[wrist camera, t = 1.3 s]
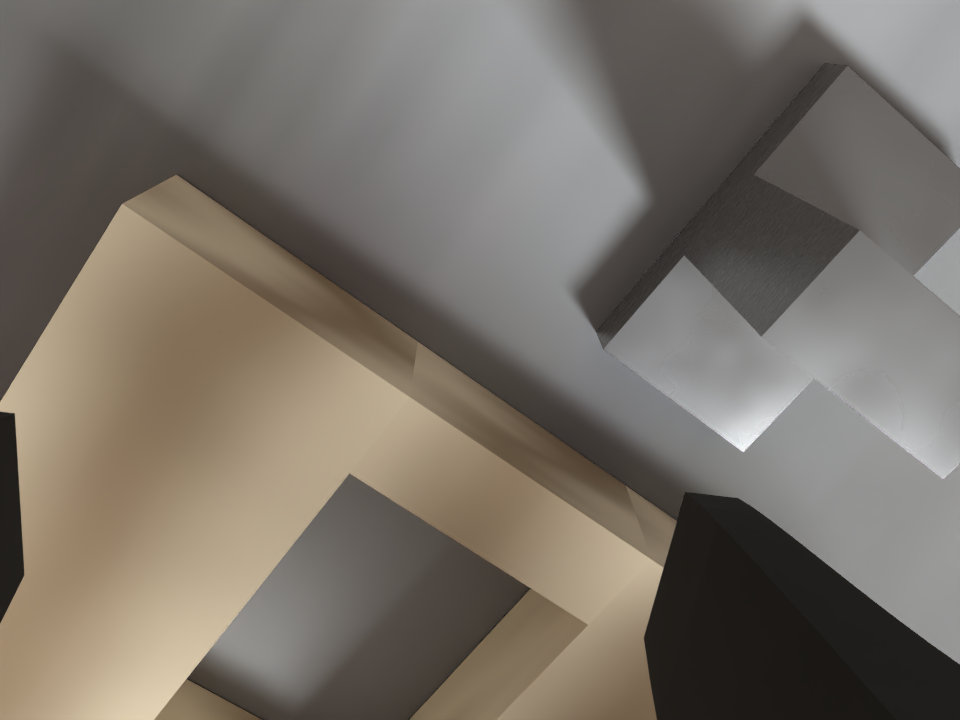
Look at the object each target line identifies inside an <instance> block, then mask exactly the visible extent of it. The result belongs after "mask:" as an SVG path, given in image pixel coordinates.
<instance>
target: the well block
mask: <svg viewBox="0 0 960 720" xmlns="http://www.w3.org/2000/svg"><path fill="white" fill-rule="evenodd" d="M0 412H8V413H15V424H16V440H17V457H18V474H19V491H20V507H21V524H22V541H23V557H24V574H25V575H24V577H23V579H22V581H21V583H20V585H19V587H18V589H17V591H16V593H15V595H14V597H13V599H12V601H11V603H10V605H9V607H8V609H7V611H6V613H5V615H4V617H3V619H2V621H1V623H0V720H261V719H260V718H258V717H256V716H254V715H252V714H250V713H248V712H247V711H245V710H243V709H241V708H239V707H237V706H235V705H234V704H232V703H230V702H228V701H226V700H224V699H222V698H221V697H219V696H217V695H215V694H213V693H211V692H210V691H208V690H206V689H204V688H202V687H200V686H198V685H197V684H195V683H193V682H191V681H189V680H187V678H188V676H189V675H190V674H191V673H192V671H193V670H194V669H195V667H196V666H197V665H198V664H199V662H200V661H201V660H202V659H203V657H204V656H205V655H206V654H207V652H208V651H209V650H210V649H211V647H212V646H213V645H214V644H215V642H216V641H217V640H218V639H219V637H220V636H221V635H222V633H223V632H224V631H225V630H226V628H227V627H228V626H229V625H230V623H231V622H232V621H233V620H234V618H235V617H236V616H237V615H238V613H239V612H240V611H241V610H242V608H243V607H244V606H245V604H246V603H247V602H248V601H249V599H250V598H251V597H252V596H253V594H254V593H255V592H256V591H257V589H258V588H259V587H260V586H261V584H262V583H263V582H264V581H265V579H266V578H267V577H268V575H269V574H270V573H271V572H272V570H273V569H274V568H275V567H276V565H277V564H278V563H279V562H280V560H281V559H282V558H283V557H284V555H285V554H286V553H287V552H288V550H289V549H290V548H291V547H292V545H293V544H294V543H295V541H296V540H297V539H298V538H299V536H300V535H301V534H302V533H303V531H304V530H305V529H306V528H307V526H308V525H309V524H310V523H311V521H312V520H313V519H314V518H315V516H316V515H317V514H318V512H319V511H320V510H321V509H322V507H323V506H324V505H325V504H326V502H327V501H328V500H329V499H330V497H331V496H332V495H333V494H334V492H335V491H336V490H337V489H338V487H339V486H340V485H341V483H342V482H343V481H344V480H345V478H346V477H347V476H348V475H349V473H350V474H351V475H353V476H354V477H356V478H358V479H359V480H361V481H362V482H364V483H365V484H367V485H369V486H370V487H372V488H373V489H375V490H376V491H378V492H380V493H381V494H383V495H384V496H386V497H387V498H389V499H391V500H392V501H394V502H395V503H397V504H399V505H400V506H402V507H403V508H405V509H406V510H408V511H410V512H411V513H413V514H414V515H416V516H417V517H419V518H421V519H422V520H424V521H425V522H427V523H428V524H430V525H432V526H433V527H435V528H436V529H438V530H440V531H441V532H443V533H444V534H446V535H447V536H449V537H451V538H452V539H454V540H455V541H457V542H458V543H460V544H462V545H463V546H465V547H466V548H468V549H469V550H471V551H473V552H474V553H476V554H477V555H479V556H480V557H482V558H484V559H485V560H487V561H488V562H490V563H492V564H493V565H495V566H496V567H498V568H499V569H501V570H503V571H504V572H506V573H507V574H509V575H510V576H512V577H514V578H515V579H517V580H518V581H520V582H521V583H523V584H525V585H526V586H528V587H529V588H531V589H530V590H529V591H528V592H527V593H526V594H525V595H524V596H523V597H522V598H521V599H520V601H519V602H518V603H517V604H516V605H515V606H514V607H513V608H512V609H511V610H510V611H509V612H508V614H507V615H506V616H505V617H504V618H503V619H502V620H501V621H500V622H499V623H498V624H497V625H496V627H495V628H494V629H493V630H492V631H491V632H490V633H489V634H488V635H487V636H486V637H485V638H484V640H483V641H482V642H481V643H480V644H479V645H478V646H477V647H476V648H475V649H474V650H473V651H472V652H471V654H470V655H469V656H468V657H467V658H466V659H465V660H464V661H463V662H462V663H461V664H460V665H459V667H458V668H457V669H456V670H455V671H454V672H453V673H452V674H451V675H450V676H449V677H448V678H447V680H446V681H445V682H444V683H443V684H442V685H441V686H440V687H439V688H438V689H437V690H436V691H435V693H434V694H433V695H432V696H431V697H430V698H429V699H428V700H427V701H426V702H425V703H424V704H423V705H422V707H421V708H420V709H419V710H418V711H417V712H416V713H415V714H414V715H413V716H412V717H411V718H410V720H657V717H656V712H655V706H654V700H653V695H652V689H651V684H650V677H649V670H648V664H647V657H646V650H645V643H644V635H645V631H646V628H647V624H648V621H649V617H650V614H651V610H652V607H653V603H654V600H655V596H656V593H657V589H658V586H659V582H660V579H661V575H662V572H663V568H664V565H665V561H666V558H667V554H668V551H669V547H670V544H671V540H672V537H673V533H674V530H675V526H676V523H677V521H676V520H675V519H673V518H672V517H670V516H669V515H667V514H666V513H665V512H663V511H662V510H660V509H659V508H657V507H656V506H654V505H653V504H652V503H650V502H649V501H647V500H646V499H644V498H643V497H641V496H640V495H639V494H637V493H636V492H634V491H633V490H631V489H630V488H628V487H627V486H626V485H624V484H623V483H621V482H620V481H618V480H617V479H615V478H614V477H613V476H611V475H610V474H608V473H607V472H605V471H604V470H602V469H601V468H600V467H598V466H597V465H595V464H594V463H592V462H591V461H589V460H588V459H587V458H585V457H584V456H582V455H581V454H579V453H578V452H576V451H575V450H574V449H572V448H571V447H569V446H568V445H566V444H565V443H563V442H562V441H561V440H559V439H558V438H556V437H555V436H553V435H552V434H550V433H549V432H548V431H546V430H545V429H543V428H542V427H540V426H539V425H537V424H536V423H535V422H533V421H532V420H530V419H529V418H527V417H526V416H524V415H523V414H522V413H520V412H519V411H517V410H516V409H514V408H513V407H511V406H510V405H509V404H507V403H506V402H504V401H503V400H501V399H500V398H498V397H497V396H496V395H494V394H493V393H491V392H490V391H488V390H487V389H485V388H484V387H483V386H481V385H480V384H478V383H477V382H475V381H474V380H472V379H471V378H470V377H468V376H467V375H465V374H464V373H462V372H461V371H459V370H458V369H457V368H455V367H454V366H452V365H451V364H449V363H448V362H446V361H445V360H444V359H442V358H441V357H439V356H438V355H436V354H435V353H433V352H432V351H431V350H429V349H428V348H426V347H425V346H423V345H422V344H420V343H419V342H418V341H416V340H415V339H413V338H412V337H410V336H409V335H407V334H406V333H405V332H403V331H402V330H400V329H399V328H397V327H396V326H394V325H393V324H392V323H390V322H389V321H387V320H386V319H384V318H383V317H381V316H380V315H379V314H377V313H376V312H374V311H373V310H371V309H370V308H368V307H367V306H366V305H364V304H363V303H361V302H360V301H358V300H357V299H355V298H354V297H353V296H351V295H350V294H348V293H347V292H345V291H344V290H342V289H341V288H340V287H338V286H337V285H335V284H334V283H332V282H331V281H329V280H328V279H327V278H325V277H324V276H322V275H321V274H319V273H318V272H316V271H315V270H314V269H312V268H311V267H309V266H308V265H306V264H305V263H303V262H302V261H301V260H299V259H298V258H296V257H295V256H293V255H292V254H290V253H289V252H288V251H286V250H285V249H283V248H282V247H280V246H279V245H277V244H276V243H275V242H273V241H272V240H270V239H269V238H267V237H266V236H264V235H263V234H262V233H260V232H259V231H257V230H256V229H254V228H253V227H251V226H250V225H249V224H247V223H246V222H244V221H243V220H241V219H240V218H238V217H237V216H236V215H234V214H233V213H231V212H230V211H228V210H227V209H225V208H224V207H223V206H221V205H220V204H218V203H217V202H215V201H214V200H212V199H211V198H210V197H208V196H207V195H205V194H204V193H202V192H201V191H199V190H198V189H197V188H195V187H194V186H192V185H191V184H189V183H188V182H186V181H185V180H184V179H182V178H181V177H179V176H178V175H175V176H173V177H171V178H169V179H167V180H165V181H164V182H162V183H160V184H158V185H156V186H154V187H152V188H151V189H149V190H147V191H145V192H143V193H141V194H139V195H138V196H136V197H134V198H132V199H130V200H128V201H126V202H124V203H123V204H122V205H121V206H120V208H119V210H118V211H117V213H116V215H115V216H114V218H113V219H112V221H111V223H110V224H109V226H108V228H107V229H106V231H105V232H104V234H103V236H102V237H101V239H100V241H99V242H98V244H97V245H96V247H95V249H94V250H93V252H92V254H91V255H90V257H89V258H88V260H87V262H86V263H85V265H84V267H83V268H82V270H81V272H80V273H79V275H78V276H77V278H76V280H75V281H74V283H73V285H72V286H71V288H70V289H69V291H68V293H67V294H66V296H65V298H64V299H63V301H62V302H61V304H60V306H59V307H58V309H57V311H56V312H55V314H54V315H53V317H52V319H51V320H50V322H49V324H48V325H47V327H46V328H45V330H44V332H43V333H42V335H41V337H40V338H39V340H38V341H37V343H36V345H35V346H34V348H33V350H32V351H31V353H30V355H29V356H28V358H27V359H26V361H25V363H24V364H23V366H22V368H21V369H20V371H19V372H18V374H17V376H16V377H15V379H14V381H13V382H12V384H11V385H10V387H9V389H8V390H7V392H6V394H5V395H4V397H3V398H2V400H1V402H0Z"/></svg>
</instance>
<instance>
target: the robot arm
mask: <svg viewBox="0 0 960 720" xmlns="http://www.w3.org/2000/svg"><path fill="white" fill-rule="evenodd" d="M24 575H25V574H24V557H23V541H22V524H21V507H20V491H19V474H18V457H17V440H16V424H15V413H8V412H0V623H1V621H2V619H3V617H4V615H5V613H6V611H7V609H8V607H9V605H10V603H11V601H12V599H13V597H14V595H15V593H16V591H17V589H18V587H19V585H20V583H21V581H22V579H23V577H24ZM644 643H645V650H646V657H647V664H648V670H649V677H650V684H651V689H652V695H653V700H654V706H655V712H656V717H657V720H960V665H959V664H958V663H957V662H955V661H954V660H952V659H951V658H950V657H948V656H947V655H945V654H944V653H943V652H941V651H940V650H938V649H937V648H936V647H934V646H933V645H931V644H930V643H928V642H927V641H926V640H924V639H923V638H922V637H920V636H919V635H918V634H916V633H915V632H914V631H912V630H911V629H910V628H908V627H907V626H906V625H904V624H903V623H902V622H900V621H899V620H898V619H896V618H895V617H894V616H892V615H891V614H890V613H888V612H887V611H886V610H885V609H883V608H882V607H881V606H879V605H878V604H877V603H875V602H874V601H873V600H872V599H870V598H869V597H868V596H866V595H865V594H864V593H863V592H861V591H860V590H859V589H857V588H856V587H855V586H854V585H852V584H851V583H850V582H848V581H847V580H846V579H845V578H843V577H842V576H841V575H840V574H838V573H837V572H836V571H835V570H833V569H832V568H831V567H830V566H828V565H827V564H826V563H824V562H823V561H822V560H821V559H819V558H818V557H817V556H816V555H814V554H813V553H812V552H811V551H809V550H808V549H807V548H806V547H804V546H803V545H802V544H800V543H799V542H798V541H797V540H795V539H794V538H793V537H792V536H790V535H789V534H788V533H786V532H785V531H784V530H782V529H781V528H780V527H779V526H777V525H776V524H775V523H773V522H772V521H771V520H769V519H768V518H767V517H765V516H764V515H763V514H761V513H760V512H758V511H757V510H755V509H754V508H753V507H751V506H750V505H748V504H746V503H745V502H743V501H742V500H740V499H738V498H731V497H722V496H714V495H705V494H697V493H688V492H685V495H684V498H683V502H682V505H681V509H680V512H679V516H678V519H677V523H676V526H675V530H674V533H673V537H672V540H671V544H670V547H669V551H668V554H667V558H666V561H665V565H664V568H663V572H662V575H661V579H660V582H659V586H658V589H657V593H656V596H655V600H654V603H653V607H652V610H651V614H650V617H649V621H648V624H647V628H646V631H645V635H644Z"/></svg>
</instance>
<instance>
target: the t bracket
mask: <svg viewBox="0 0 960 720" xmlns="http://www.w3.org/2000/svg"><path fill="white" fill-rule="evenodd" d="M959 228H960V168H959V167H958V166H957V165H956V164H954V163H953V162H952V161H951V160H950V159H949V158H948V157H947V156H946V155H945V154H944V153H942V152H941V151H940V150H939V149H938V148H937V147H936V146H935V145H934V144H933V143H932V142H930V141H929V140H928V139H927V138H926V137H925V136H924V135H923V134H922V133H921V132H920V131H918V130H917V129H916V128H915V127H914V126H913V125H912V124H911V123H910V122H909V121H908V120H906V119H905V118H904V117H903V116H902V115H901V114H900V113H899V112H898V111H897V110H896V109H894V108H893V107H892V106H891V105H890V104H889V103H888V102H887V101H886V100H885V99H884V98H882V97H881V96H880V95H879V94H878V93H877V92H876V91H875V90H874V89H873V88H872V87H870V86H869V85H868V84H867V83H866V82H865V81H864V80H863V79H862V78H861V77H860V76H858V75H857V74H856V73H855V72H854V71H853V70H852V69H851V68H850V67H849V66H846V65H837V64H829V63H825V64H824V65H823V66H822V68H821V69H820V70H819V71H818V72H817V73H816V75H815V76H814V77H813V78H812V79H811V80H810V82H809V83H808V84H807V85H806V86H805V87H804V89H803V90H802V91H801V92H800V93H799V95H798V96H797V97H796V98H795V99H794V100H793V102H792V103H791V104H790V105H789V106H788V107H787V109H786V110H785V111H784V112H783V113H782V114H781V116H780V117H779V118H778V119H777V120H776V122H775V123H774V124H773V125H772V126H771V127H770V129H769V130H768V131H767V132H766V133H765V134H764V136H763V137H762V138H761V139H760V140H759V141H758V143H757V144H756V145H755V146H754V147H753V148H752V150H751V151H750V152H749V153H748V154H747V156H746V157H745V158H744V159H743V160H742V161H741V163H740V164H739V165H738V166H737V167H736V168H735V170H734V171H733V172H732V173H731V174H730V175H729V177H728V178H727V179H726V180H725V181H724V183H723V184H722V185H721V186H720V187H719V188H718V190H717V191H716V192H715V193H714V194H713V195H712V197H711V198H710V199H709V200H708V201H707V202H706V204H705V205H704V206H703V207H702V208H701V209H700V211H699V212H698V213H697V214H696V215H695V217H694V218H693V219H692V220H691V221H690V222H689V224H688V225H687V226H686V227H685V228H684V229H683V231H682V232H681V233H680V234H679V235H678V236H677V238H676V239H675V240H674V241H673V242H672V244H671V245H670V246H669V247H668V248H667V249H666V251H665V252H664V253H663V254H662V255H661V256H660V258H659V259H658V260H657V261H656V262H655V263H654V265H653V266H652V267H651V268H650V269H649V271H648V272H647V273H646V274H645V275H644V276H643V278H642V279H641V280H640V281H639V282H638V283H637V285H636V286H635V287H634V288H633V289H632V290H631V292H630V293H629V294H628V295H627V296H626V297H625V299H624V300H623V301H622V302H621V303H620V305H619V306H618V307H617V308H616V309H615V310H614V312H613V313H612V314H611V315H610V316H609V317H608V319H607V320H606V321H605V322H604V323H603V324H602V326H601V327H600V328H599V329H598V330H597V332H596V333H597V336H598V338H599V340H600V343H601V345H602V347H603V349H604V350H605V351H606V352H608V353H609V354H611V355H612V356H613V357H615V358H616V359H617V360H619V361H620V362H621V363H623V364H624V365H625V366H627V367H628V368H630V369H631V370H632V371H634V372H635V373H636V374H638V375H639V376H640V377H642V378H643V379H644V380H646V381H647V382H649V383H650V384H651V385H653V386H654V387H655V388H657V389H658V390H659V391H661V392H662V393H663V394H665V395H666V396H668V397H669V398H670V399H672V400H673V401H674V402H676V403H677V404H678V405H680V406H681V407H682V408H684V409H685V410H687V411H688V412H689V413H691V414H692V415H693V416H695V417H696V418H697V419H699V420H700V421H701V422H703V423H704V424H706V425H707V426H708V427H710V428H711V429H712V430H714V431H715V432H716V433H718V434H719V435H720V436H722V437H723V438H725V439H726V440H727V441H729V442H730V443H731V444H733V445H734V446H735V447H737V448H738V449H739V450H741V451H742V452H744V451H745V450H746V449H747V448H748V447H749V446H750V445H751V444H752V443H753V442H754V441H755V439H756V438H757V437H758V436H759V435H760V434H761V433H762V432H763V431H764V430H765V429H766V428H767V427H768V426H769V425H770V424H771V423H772V422H773V421H774V420H775V419H776V418H777V417H778V416H779V415H780V414H781V413H782V411H783V410H784V409H785V408H786V407H787V406H788V405H789V404H790V403H791V402H792V401H793V400H794V399H795V398H796V397H797V396H798V395H799V394H800V393H801V392H802V391H803V390H804V389H805V388H806V387H807V386H808V385H809V383H810V382H811V381H812V380H813V379H814V378H815V379H816V380H817V381H818V382H820V383H821V384H822V385H823V386H825V387H826V388H827V389H829V390H830V391H831V392H832V393H834V394H835V395H836V396H837V397H839V398H840V399H841V400H843V401H844V402H845V403H846V404H848V405H849V406H850V407H852V408H853V409H854V410H855V411H857V412H858V413H859V414H860V415H862V416H863V417H864V418H866V419H867V420H868V421H869V422H871V423H872V424H873V425H874V426H876V427H877V428H878V429H880V430H881V431H882V432H883V433H885V434H886V435H887V436H888V437H890V438H891V439H892V440H894V441H895V442H896V443H897V444H899V445H900V446H901V447H902V448H904V449H905V450H906V451H908V452H909V453H910V454H911V455H913V456H914V457H915V458H916V459H918V460H919V461H920V462H922V463H923V464H924V465H925V466H927V467H928V468H929V469H930V470H932V471H933V472H934V473H936V474H937V475H938V476H939V477H941V478H942V479H944V478H945V477H946V476H947V475H948V474H949V473H951V472H952V471H953V470H954V469H955V468H956V467H957V466H958V465H959V464H960V315H958V314H957V313H956V312H955V311H954V310H953V309H951V308H950V307H949V306H948V305H947V304H945V303H944V302H943V301H942V300H941V299H940V298H938V297H937V296H936V295H935V294H934V293H933V292H931V291H930V290H929V289H928V288H927V287H926V286H924V285H923V284H922V283H921V282H920V281H919V280H917V279H916V278H915V277H914V275H915V274H916V273H917V271H918V270H919V269H920V268H921V267H922V266H923V265H924V264H925V263H926V262H927V261H928V260H929V259H930V258H931V257H932V256H933V255H934V254H935V253H936V252H937V251H938V250H939V249H940V248H941V247H942V246H943V245H944V243H945V242H946V241H947V240H948V239H949V238H950V237H951V236H952V235H953V234H954V233H955V232H956V231H957V230H958V229H959Z"/></svg>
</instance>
